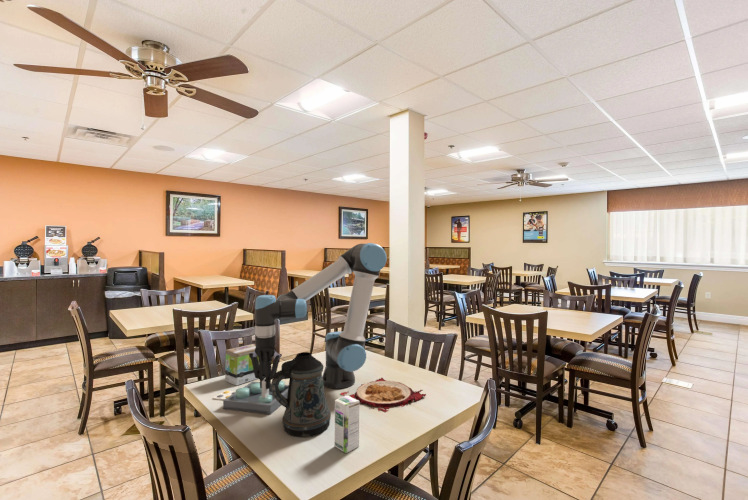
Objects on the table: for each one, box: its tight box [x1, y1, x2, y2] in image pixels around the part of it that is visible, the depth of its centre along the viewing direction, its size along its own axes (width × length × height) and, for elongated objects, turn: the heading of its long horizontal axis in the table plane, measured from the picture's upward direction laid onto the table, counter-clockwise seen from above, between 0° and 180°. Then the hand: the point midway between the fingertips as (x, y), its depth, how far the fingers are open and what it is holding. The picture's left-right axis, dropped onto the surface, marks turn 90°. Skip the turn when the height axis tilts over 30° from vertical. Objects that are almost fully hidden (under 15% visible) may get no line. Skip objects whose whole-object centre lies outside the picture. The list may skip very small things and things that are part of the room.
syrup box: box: [333, 395, 360, 454], centre depth 111 cm, size 6×6×14 cm
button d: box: [235, 387, 249, 399], centre depth 141 cm, size 5×5×2 cm
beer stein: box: [271, 351, 332, 438], centre depth 123 cm, size 16×19×25 cm
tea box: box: [224, 343, 259, 387], centre depth 169 cm, size 15×10×15 cm
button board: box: [222, 381, 289, 415], centre depth 145 cm, size 20×20×3 cm
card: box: [212, 389, 236, 401], centre depth 149 cm, size 8×8×1 cm
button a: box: [278, 380, 285, 391], centre depth 148 cm, size 5×5×2 cm
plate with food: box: [340, 377, 427, 414], centre depth 149 cm, size 25×26×4 cm
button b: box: [259, 395, 272, 403], centre depth 138 cm, size 5×5×2 cm
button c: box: [250, 383, 262, 394], centre depth 151 cm, size 5×5×2 cm
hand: (265, 396), depth 138 cm, fingers closed
